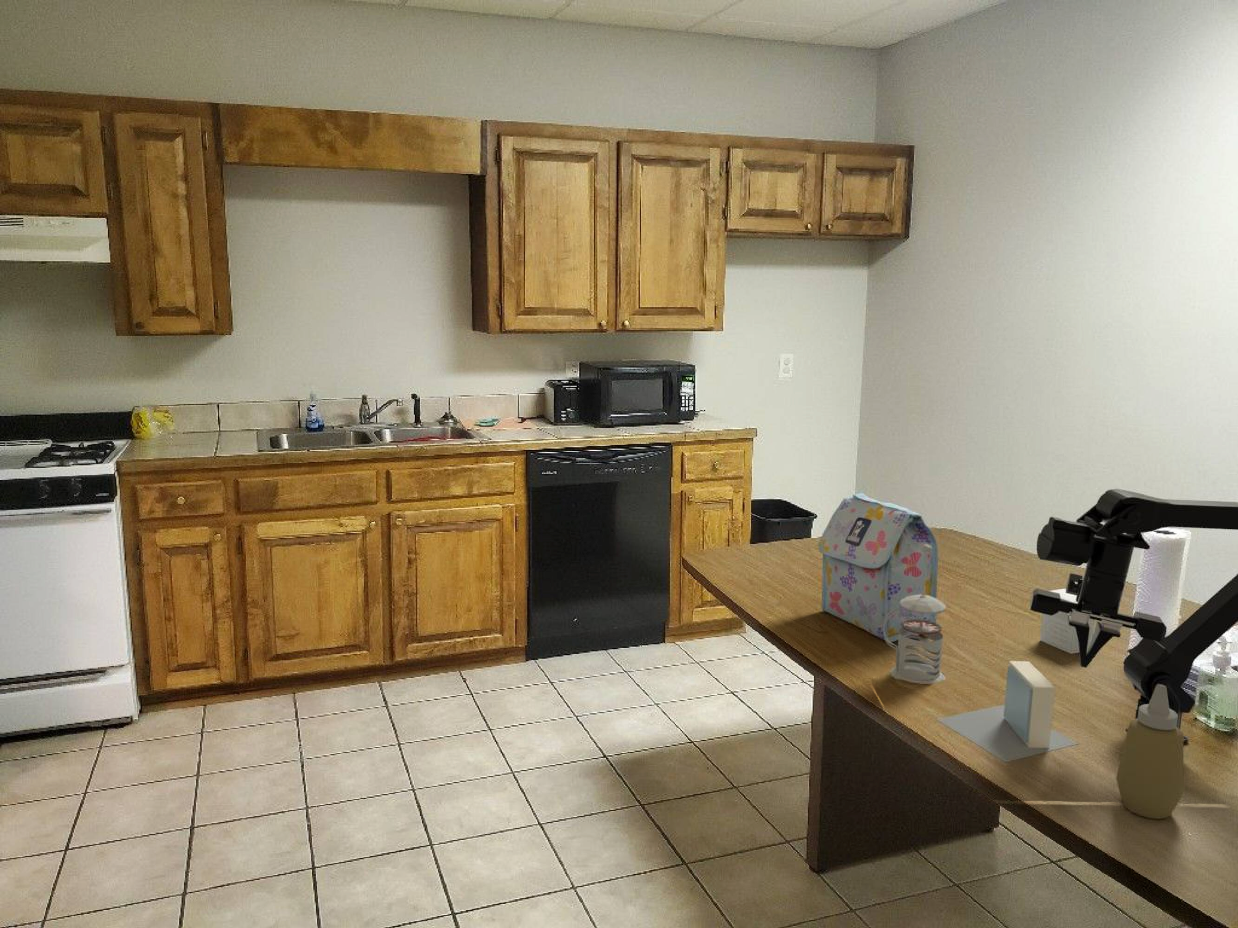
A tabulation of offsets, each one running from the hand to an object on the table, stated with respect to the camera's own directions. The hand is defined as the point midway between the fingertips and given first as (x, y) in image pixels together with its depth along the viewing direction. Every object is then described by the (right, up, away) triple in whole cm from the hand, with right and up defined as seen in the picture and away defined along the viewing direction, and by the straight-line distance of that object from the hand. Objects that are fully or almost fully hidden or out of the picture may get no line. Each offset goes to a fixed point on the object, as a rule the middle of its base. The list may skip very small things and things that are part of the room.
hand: (1083, 666), depth 146 cm
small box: (+16, -5, +40) cm, 43 cm away
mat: (-11, -11, +3) cm, 16 cm away
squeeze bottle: (0, -16, -18) cm, 24 cm away
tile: (-8, -11, +3) cm, 14 cm away
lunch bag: (-19, -2, +52) cm, 55 cm away
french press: (-19, -7, +26) cm, 33 cm away
